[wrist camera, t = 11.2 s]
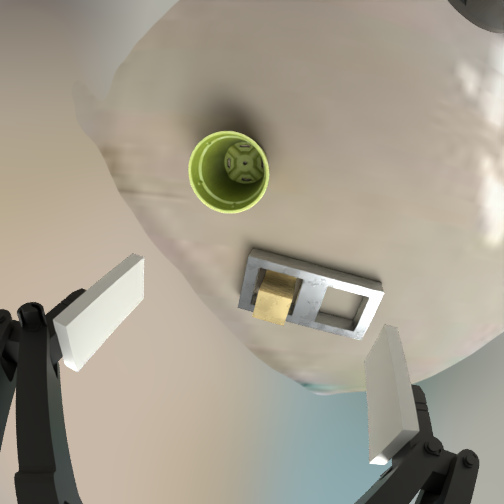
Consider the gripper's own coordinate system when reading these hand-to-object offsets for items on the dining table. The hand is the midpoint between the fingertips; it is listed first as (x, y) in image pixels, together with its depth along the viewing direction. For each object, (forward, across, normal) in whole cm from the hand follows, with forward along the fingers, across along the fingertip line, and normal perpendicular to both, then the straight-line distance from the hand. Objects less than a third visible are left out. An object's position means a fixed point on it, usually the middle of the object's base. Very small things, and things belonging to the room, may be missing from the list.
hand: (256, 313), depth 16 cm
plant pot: (+29, -8, +2) cm, 30 cm away
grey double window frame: (+29, +6, -14) cm, 33 cm away
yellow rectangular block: (+29, 0, -15) cm, 32 cm away
